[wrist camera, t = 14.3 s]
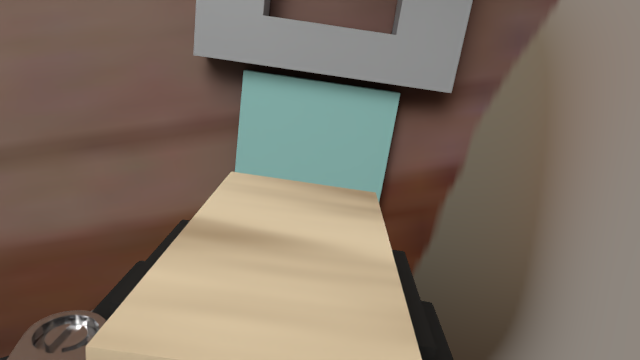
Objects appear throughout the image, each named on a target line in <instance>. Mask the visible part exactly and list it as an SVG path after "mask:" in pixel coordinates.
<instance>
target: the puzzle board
mask: <svg viewBox="0 0 640 360" xmlns="http://www.w3.org/2000/svg"><path fill="white" fill-rule="evenodd" d="M472 2H473V0H398V2H397V8H396V13H395V19H394V24H393V30H392V34H385V33H378V32H372V31H365V30H358V29H352V28H345V27H338V26H332V25H325V24H318V23H311V22H305V21H298V20H291V19H285V18H278V17H271V16H269V10H270V0H196V16H195V36H194V55H196V56H203V57H210V58H217V59H224V60H230V61H237V62H244V63H251V64H257V65H264V66H271V67H278V68H284V69H291V70H298V71H305V72H311V73H318V74H325V75H332V76H338V77H345V78H352V79H359V80H365V81H372V82H379V83H386V84H392V85H399V86H406V87H413V88H420V89H426V90H433V91H440V92H447V93H451V92H452V88H453V84H454V79H455V75H456V71H457V67H458V62H459V58H460V54H461V49H462V45H463V41H464V36H465V32H466V28H467V23H468V19H469V15H470V10H471V6H472Z"/></svg>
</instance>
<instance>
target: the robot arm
mask: <svg viewBox="0 0 640 360" xmlns="http://www.w3.org/2000/svg"><path fill="white" fill-rule="evenodd" d="M189 222H190V221H189V220H182V221H181V222H180V223H179V224H178V225H177V226H176V227H175V228H174V229H173V231H172V232H171V233H170V234H169V235H168V236H167V237H166V238H165V240H164V241H163V242H162V243H161V244H160V245H159V246H158V248H157V249H156V250H155V251H154V252H153V253H152V254H151V255H150V257H149V258H148V259H147V260H146V261H139V262H138V263H136V264H135V265H134V266H133V268H132V269H131V270H130V271H129V272H128V273H127V274H126V275H125V276H124V277H123V278H122V280H121V281H120V282H119V283H118V284H117V285H116V286H115V287H114V288H113V289H112V290H111V292H110V293H109V294H108V295H107V296H106V297H105V298H104V299H103V300H102V301H101V302H100V304H99V305H98V306H97V307H96V308H95V309H94V310H92V311H81V310H76V311H65V312H61V313H57V314H53V315H51V316H48V317H46V318H44V319H41V320H40V321H38V322H37V323H35V324H34V325H32V326H31V327H30V328H29V329H28V330H27V331H26V332H25V333H24V335H23V336H22V338H21V339H20V341H19V342H18V344H17V345H16V347H15V348H14V350H13V351H12V353H11V354H10V356H7V357H3V358H0V360H86V345H87V344H88V343H89V342H90V341H91V339H92V338H93V337H94V336H95V335H96V333H97V332H98V331H99V330H100V329H101V327H102V326H103V325H104V324H105V323H106V321H107V320H108V319H109V318H110V317H111V315H112V314H113V313H114V312H115V311H116V309H117V308H118V307H119V306H120V305H121V303H122V302H123V301H124V300H125V299H126V297H127V296H128V295H129V294H130V293H131V291H132V290H133V289H134V288H135V287H136V285H137V284H138V283H139V282H140V281H141V279H142V278H143V277H144V276H145V275H146V273H147V272H148V271H149V270H150V269H151V267H152V266H153V265H154V264H155V263H156V261H157V260H158V259H159V258H160V257H161V255H162V254H163V253H164V252H165V251H166V249H167V248H168V247H169V246H170V245H171V243H172V242H173V241H174V240H175V239H176V237H177V236H178V235H179V234H180V233H181V231H182V230H183V229H184V228H185V227H186V225H187V224H188V223H189ZM392 253H393V256H394V260H395V264H396V267H397V271H398V275H399V278H400V282H401V285H402V289H403V293H404V296H405V300H406V304H407V307H408V311H409V314H410V318H411V322H412V325H413V329H414V333H415V336H416V340H417V343H418V347H419V351H420V354H421V358H422V360H453V357H452V354H451V352H450V349H449V347H448V344H447V341H446V339H445V336H444V333H443V330H442V328H441V325H440V323H439V320H438V317H437V315H436V312H435V309H434V307H433V305H432V303H430V302H425V301H421V300H420V297H419V294H418V291H417V288H416V285H415V282H414V279H413V276H412V273H411V270H410V267H409V264H408V261H407V258H406V255H405V252H403V251H396V250H392Z"/></svg>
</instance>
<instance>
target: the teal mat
mask: <svg viewBox="0 0 640 360" xmlns="http://www.w3.org/2000/svg"><path fill="white" fill-rule="evenodd" d="M399 98H400V93H399V92H394V91H388V90H381V89H374V88H367V87H361V86H354V85H347V84H340V83H334V82H327V81H320V80H313V79H306V78H300V77H293V76H286V75H279V74H273V73H266V72H259V71H252V70H244V72H243V83H242V95H241V107H240V119H239V130H238V142H237V154H236V166H235V172H238V173H245V174H252V175H259V176H265V177H272V178H279V179H286V180H293V181H300V182H307V183H314V184H320V185H327V186H334V187H341V188H348V189H355V190H362V191H369V192H376V195H377V198H378V202H379V200H380V195H381V190H382V185H383V180H384V175H385V170H386V165H387V159H388V154H389V149H390V144H391V139H392V134H393V129H394V124H395V119H396V114H397V108H398V103H399Z"/></svg>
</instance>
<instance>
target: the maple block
mask: <svg viewBox="0 0 640 360" xmlns="http://www.w3.org/2000/svg"><path fill="white" fill-rule="evenodd" d="M86 360H422V358H421V354H420V351H419V347H418V343H417V340H416V336H415V333H414V329H413V325H412V322H411V318H410V314H409V311H408V307H407V304H406V300H405V296H404V293H403V289H402V285H401V282H400V278H399V275H398V271H397V267H396V264H395V260H394V256H393V253H392V249H391V246H390V242H389V238H388V235H387V231H386V227H385V224H384V220H383V217H382V213H381V209H380V206H379V202H378V198H377V195H376V192H369V191H362V190H355V189H348V188H341V187H334V186H327V185H320V184H314V183H307V182H300V181H293V180H286V179H279V178H272V177H265V176H259V175H252V174H245V173H238V172H231V173H230V174H229V175H228V176H227V177H226V179H225V180H224V181H223V182H222V183H221V185H220V186H219V187H218V188H217V189H216V191H215V192H214V193H213V194H212V195H211V197H210V198H209V199H208V200H207V201H206V203H205V204H204V205H203V206H202V207H201V209H200V210H199V211H198V212H197V213H196V215H195V216H194V217H193V218H192V219H191V221H190V222H189V223H188V224H187V225H186V227H185V228H184V229H183V230H182V231H181V233H180V234H179V235H178V236H177V237H176V239H175V240H174V241H173V242H172V243H171V245H170V246H169V247H168V248H167V249H166V251H165V252H164V253H163V254H162V255H161V257H160V258H159V259H158V260H157V261H156V263H155V264H154V265H153V266H152V267H151V269H150V270H149V271H148V272H147V273H146V275H145V276H144V277H143V278H142V279H141V281H140V282H139V283H138V284H137V285H136V287H135V288H134V289H133V290H132V291H131V293H130V294H129V295H128V296H127V297H126V299H125V300H124V301H123V302H122V303H121V305H120V306H119V307H118V308H117V309H116V311H115V312H114V313H113V314H112V315H111V317H110V318H109V319H108V320H107V321H106V323H105V324H104V325H103V326H102V327H101V329H100V330H99V331H98V332H97V333H96V335H95V336H94V337H93V338H92V339H91V341H90V342H89V343H88V344H87V345H86Z"/></svg>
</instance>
